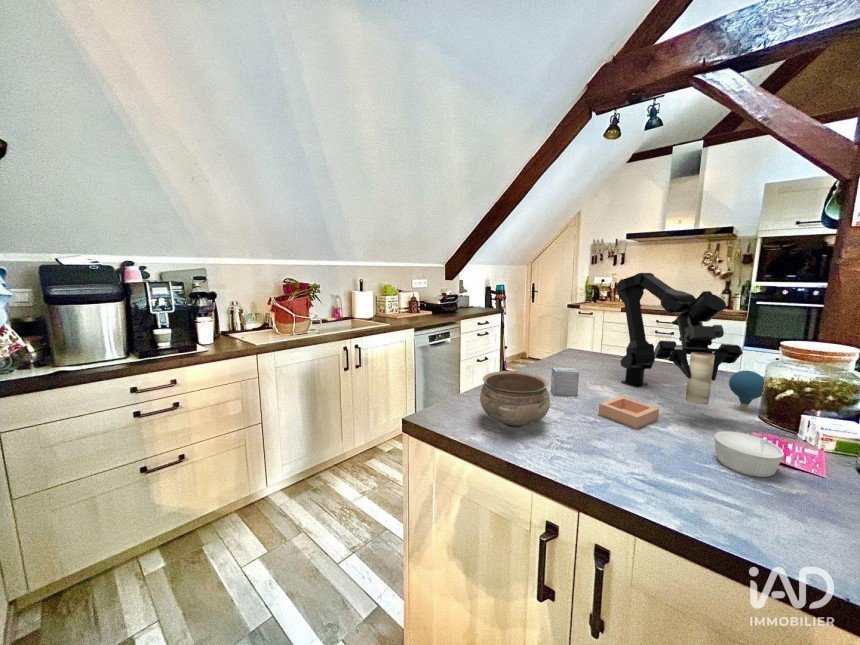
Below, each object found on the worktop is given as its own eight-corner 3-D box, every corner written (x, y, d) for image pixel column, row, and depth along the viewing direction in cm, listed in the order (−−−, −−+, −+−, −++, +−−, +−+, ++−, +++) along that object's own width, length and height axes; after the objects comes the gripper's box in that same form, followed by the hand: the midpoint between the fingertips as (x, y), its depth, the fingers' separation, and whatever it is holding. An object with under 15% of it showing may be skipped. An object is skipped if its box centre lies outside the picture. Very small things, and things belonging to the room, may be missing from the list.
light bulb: (753, 405, 108) (759, 368, 106) (769, 417, 100) (775, 376, 98) (720, 402, 110) (725, 366, 108) (733, 413, 103) (739, 374, 101)
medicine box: (573, 391, 121) (575, 367, 119) (577, 396, 116) (579, 371, 115) (550, 391, 122) (551, 367, 120) (553, 395, 117) (554, 371, 116)
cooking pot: (492, 400, 113) (493, 364, 111) (554, 411, 105) (556, 372, 103) (466, 434, 91) (466, 390, 89) (541, 450, 83) (544, 402, 81)
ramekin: (795, 484, 70) (799, 459, 69) (732, 478, 72) (735, 454, 71) (755, 454, 81) (758, 433, 80) (701, 450, 83) (703, 429, 82)
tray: (620, 406, 108) (621, 396, 107) (658, 420, 98) (659, 408, 98) (598, 414, 102) (599, 403, 102) (636, 429, 93) (637, 417, 92)
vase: (690, 395, 98) (696, 351, 96) (712, 401, 94) (718, 355, 91) (681, 399, 95) (687, 353, 93) (703, 405, 91) (709, 357, 89)
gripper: (661, 312, 97) (669, 360, 89) (744, 315, 91) (761, 367, 83) (651, 334, 106) (657, 380, 98) (726, 338, 100) (740, 388, 91)
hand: (701, 379), depth 92 cm, fingers closed on vase, 5 cm apart
